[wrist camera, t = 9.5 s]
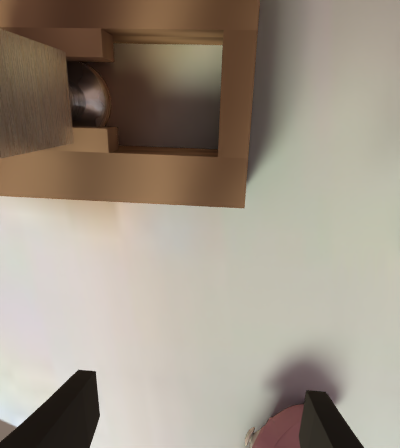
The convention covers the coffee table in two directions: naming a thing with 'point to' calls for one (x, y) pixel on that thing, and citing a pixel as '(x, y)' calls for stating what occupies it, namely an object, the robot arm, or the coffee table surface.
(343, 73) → the coffee table surface
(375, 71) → the coffee table surface
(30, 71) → the steel peg
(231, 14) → the keyhole plate
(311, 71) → the coffee table surface
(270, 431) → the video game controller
